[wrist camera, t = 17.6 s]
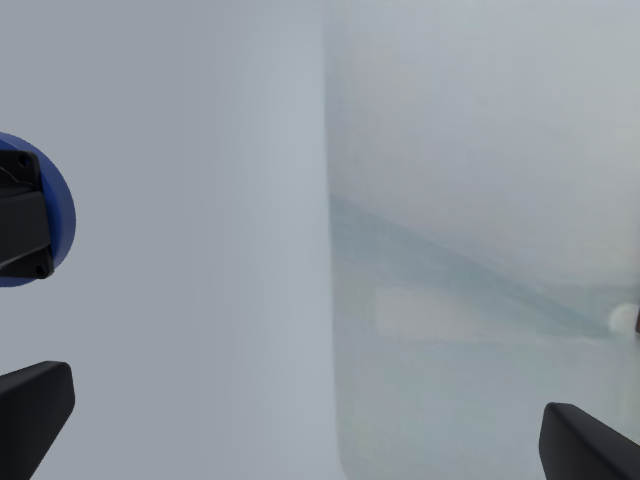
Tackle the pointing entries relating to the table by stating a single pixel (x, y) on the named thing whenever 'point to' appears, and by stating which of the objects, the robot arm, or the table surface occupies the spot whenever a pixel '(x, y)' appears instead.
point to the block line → (638, 325)
